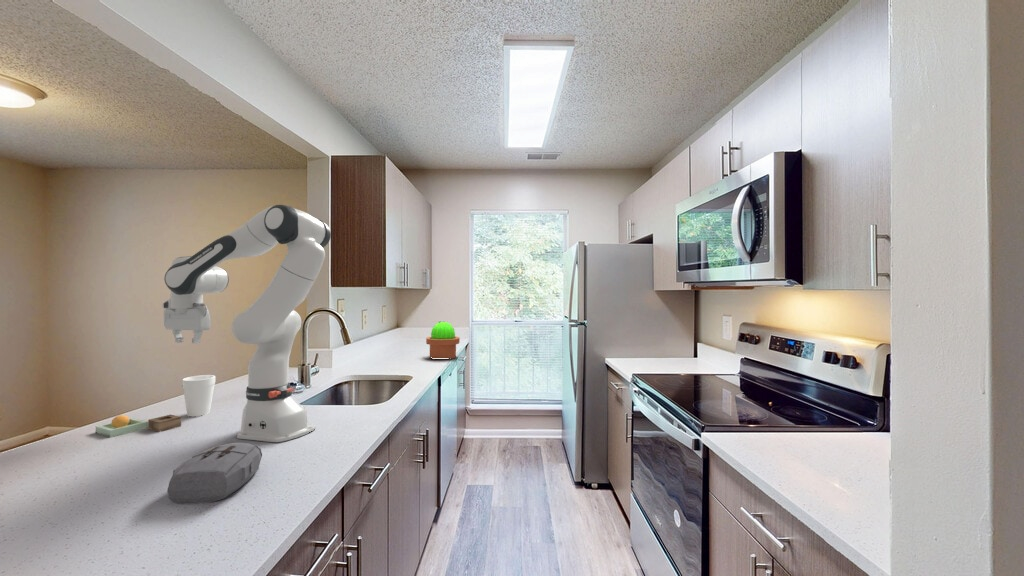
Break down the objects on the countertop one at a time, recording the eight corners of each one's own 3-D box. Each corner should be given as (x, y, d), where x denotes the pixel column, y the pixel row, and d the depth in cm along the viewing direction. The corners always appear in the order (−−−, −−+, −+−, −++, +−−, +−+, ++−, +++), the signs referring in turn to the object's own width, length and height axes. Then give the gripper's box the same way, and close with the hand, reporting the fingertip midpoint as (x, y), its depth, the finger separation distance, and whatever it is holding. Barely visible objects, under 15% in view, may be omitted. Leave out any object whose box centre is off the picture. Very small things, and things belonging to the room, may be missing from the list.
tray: (147, 427, 128) (147, 421, 128) (110, 437, 120) (110, 430, 120) (132, 424, 131) (132, 417, 131) (95, 432, 123) (95, 426, 123)
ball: (133, 423, 127) (129, 411, 127) (116, 427, 123) (113, 415, 124) (127, 428, 128) (124, 416, 129) (110, 432, 124) (107, 420, 125)
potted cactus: (457, 360, 257) (457, 322, 257) (423, 360, 256) (423, 321, 256) (460, 355, 278) (461, 319, 279) (429, 355, 278) (429, 319, 278)
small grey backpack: (234, 503, 84) (274, 462, 103) (235, 463, 84) (274, 430, 104) (153, 509, 81) (209, 466, 101) (153, 468, 81) (210, 433, 101)
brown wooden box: (181, 426, 130) (181, 416, 130) (158, 431, 124) (158, 422, 124) (170, 423, 132) (170, 414, 132) (148, 429, 127) (148, 419, 127)
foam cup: (176, 415, 141) (177, 378, 141) (206, 408, 149) (207, 374, 149) (190, 419, 136) (190, 381, 136) (220, 412, 145) (220, 376, 145)
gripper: (216, 302, 138) (216, 342, 138) (180, 303, 146) (180, 340, 145) (195, 303, 132) (196, 345, 132) (159, 303, 140) (159, 343, 140)
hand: (187, 342), depth 139 cm, fingers open, 8 cm apart
